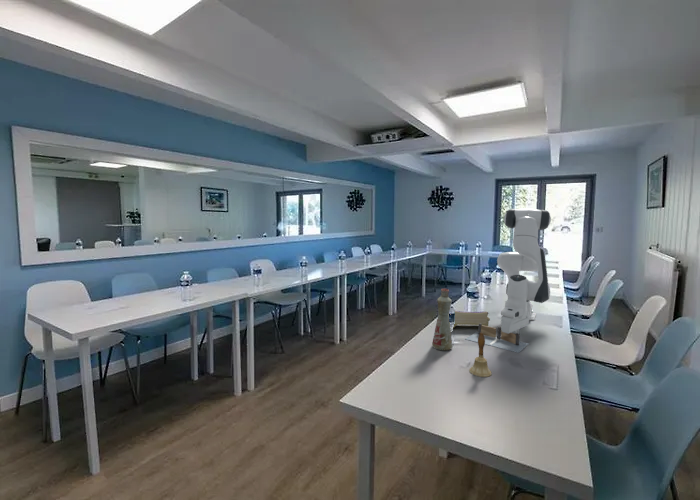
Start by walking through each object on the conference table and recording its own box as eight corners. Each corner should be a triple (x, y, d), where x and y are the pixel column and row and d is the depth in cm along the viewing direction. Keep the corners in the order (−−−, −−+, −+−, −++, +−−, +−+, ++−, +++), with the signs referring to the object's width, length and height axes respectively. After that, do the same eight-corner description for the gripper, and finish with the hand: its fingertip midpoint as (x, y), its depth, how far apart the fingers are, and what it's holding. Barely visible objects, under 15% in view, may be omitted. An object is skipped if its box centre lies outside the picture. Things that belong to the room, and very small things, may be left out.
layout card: (477, 331, 188) (477, 331, 188) (528, 343, 172) (528, 343, 172) (465, 339, 177) (465, 338, 177) (518, 352, 161) (518, 352, 161)
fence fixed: (478, 333, 186) (479, 322, 185) (501, 338, 178) (501, 327, 178) (477, 334, 184) (478, 323, 184) (499, 339, 177) (500, 327, 176)
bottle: (453, 352, 161) (455, 290, 158) (432, 350, 162) (434, 289, 159) (451, 345, 169) (454, 286, 166) (431, 343, 171) (433, 285, 168)
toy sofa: (483, 325, 200) (484, 307, 199) (489, 330, 192) (490, 311, 191) (446, 324, 200) (446, 306, 199) (450, 329, 192) (451, 311, 191)
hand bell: (477, 378, 136) (479, 337, 134) (464, 369, 144) (466, 330, 142) (496, 375, 138) (498, 335, 136) (482, 366, 146) (484, 328, 144)
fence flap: (500, 339, 176) (500, 329, 176) (502, 338, 177) (502, 328, 177) (517, 345, 169) (518, 334, 168) (519, 344, 169) (520, 334, 169)
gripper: (520, 304, 179) (519, 331, 181) (498, 312, 166) (497, 340, 168) (533, 307, 174) (531, 334, 176) (512, 315, 162) (510, 344, 163)
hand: (514, 337), depth 172 cm, fingers closed, pressing on fence flap
